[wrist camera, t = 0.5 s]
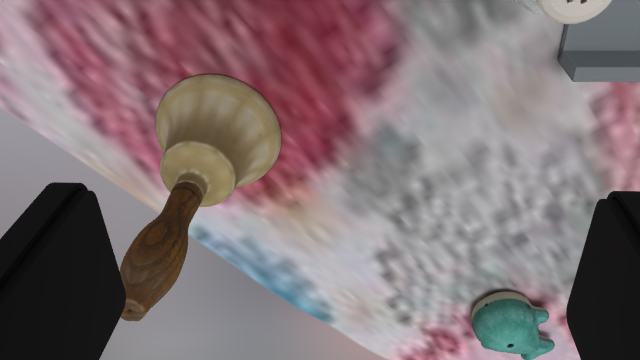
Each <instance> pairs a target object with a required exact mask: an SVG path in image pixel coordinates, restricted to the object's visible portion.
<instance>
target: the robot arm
mask: <svg viewBox="0 0 640 360" xmlns="http://www.w3.org/2000/svg"><path fill="white" fill-rule="evenodd" d="M125 304H126V292H125V288H124V285H123V281H122V278H121V275H120V272H119V268H118V265H117V262H116V259H115V255H114V253H113V249H112V246H111V243H110V239H109V236H108V233H107V229H106V226H105V223H104V219H103V216H102V213H101V210H100V207H99V203H98V200H97V197H96V195H95V193H94V192H93V191H88V189H87V187H86V186H85V185H84V184H82V183H50V184H49V185H47V186H46V187H45V189H44V190H43V191H42V192H41V193H40V194H39V196H38V197H37V198H36V199H35V200H34V201H33V203H31V205H30V206H29V207H28V208H27V209H26V210H25V212H24V213H23V214H22V215H21V216H20V217H19V218H18V219H17V221H16V222H15V223H14V224H13V225H12V226H11V228H10V229H9V230H8V231H7V232H6V233H5V234H4V236H3V237H2V238H1V239H0V360H99V358H100V357H101V355H102V352H103V351H104V348H105V347H106V345H107V342H108V341H109V339H110V337H111V335H112V332H113V330H114V328H115V326H116V325H117V323H118V320H119V318H120V317H121V315H122V313H123V310H124V308H125ZM566 314H567V323H568V326H569V329H570V332H571V334H572V337H573V340H574V342H575V345H576V347H577V350H578V353H579V355H580V358H581V360H640V192H639V191H613V192H611V193H610V194H609V195H608V197H607V199H600V200H599V201H598V202H597V205H596V207H595V211H594V214H593V218H592V221H591V225H590V228H589V232H588V235H587V239H586V242H585V245H584V249H583V252H582V256H581V259H580V263H579V266H578V270H577V273H576V277H575V280H574V284H573V287H572V291H571V294H570V297H569V301H568V304H567V312H566Z"/></svg>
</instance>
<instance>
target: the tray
mask: <svg viewBox="0 0 640 360" xmlns="http://www.w3.org/2000/svg"><path fill="white" fill-rule="evenodd" d="M557 61H558V62H559V63H560V65H561V66H562V67H563V69H564V70H565V72H566V73H567V74H568V76H569V77H570V78H571V80H572V81H573V82H640V0H612V1H611V3H610V4H609V5H608V6H607V8H605V9H604V10H603V11H602V12H601V13H599V14H598V15H597V16H595V17H593V18H591V19H589V20H588V21H585V22H581V23H577V24H565V27H564V32H563V36H562V41H561V46H560V51H559V55H558V60H557Z"/></svg>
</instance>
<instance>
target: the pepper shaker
mask: <svg viewBox="0 0 640 360" xmlns="http://www.w3.org/2000/svg"><path fill="white" fill-rule="evenodd" d="M515 1H516V2H518V3H519V4H520V5H522V6H523V7H525V8H526V9H527V10H529V11H531V12H533V13H544V14H545V15H546V16H547V17H548V18H550V19H552V20H553V21H555V22H558V23H563V24H577V23H581V22H585V21H588V20H589V19H591V18H593V17H595V16H597V15H598V14H599V13H601V12H602V11H603V10H604V9H605V8H607V6H608V5H609V4H610V3H611V1H612V0H515Z"/></svg>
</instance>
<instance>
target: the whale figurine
mask: <svg viewBox="0 0 640 360" xmlns="http://www.w3.org/2000/svg"><path fill="white" fill-rule="evenodd" d="M548 318H549V313H548V311H547V310H546V309H544V308H541V307H534V306H532V305H531V304H530V302H529V301H528V299H527V298H526V297H524V296H523V295H521V294H518V293H515V292H508V291H505V292H498V293H494V294H491V295H489V296H487V297H485V298H484V299H482V300H481V301H479V302H478V303H477V304H476V305H475V307H474V308H473V311H472V315H471V321H472V326H473V330H474V332H475V335H476V336H477V338H478V339H479V341H480V342H481V345H482V346H483V347H484V348H485V349H491V350H494V351H498V352H507V353H514V354H521V357H522V358H523V359H524V360H532V359H534V358H536V357H538V356H540V355H542V354H545V353H547V352H549V351H551V350H552V349H553V348H554V346H555V344H554V342H553V340H551V339H549V338H547V337H545V336H541V335H539V330H538V325H539V324H540V323H544V322H546V321H547V320H548Z"/></svg>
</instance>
